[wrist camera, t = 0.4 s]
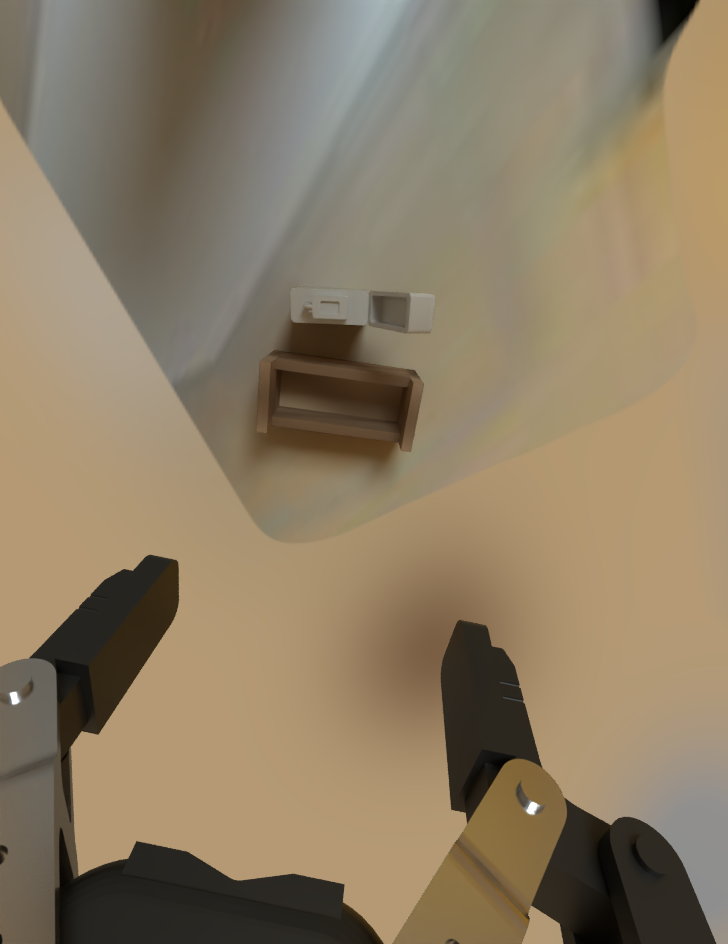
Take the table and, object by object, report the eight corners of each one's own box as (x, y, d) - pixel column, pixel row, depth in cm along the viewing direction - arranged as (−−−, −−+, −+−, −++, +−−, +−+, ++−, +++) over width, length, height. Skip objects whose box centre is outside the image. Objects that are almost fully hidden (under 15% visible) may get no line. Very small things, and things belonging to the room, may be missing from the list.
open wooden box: (274, 350, 28) (259, 361, 24) (414, 370, 28) (424, 384, 24) (270, 411, 29) (256, 431, 25) (403, 429, 30) (410, 451, 26)
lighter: (300, 317, 27) (279, 328, 20) (300, 287, 26) (278, 287, 19) (413, 321, 27) (433, 334, 20) (416, 292, 27) (437, 294, 19)
